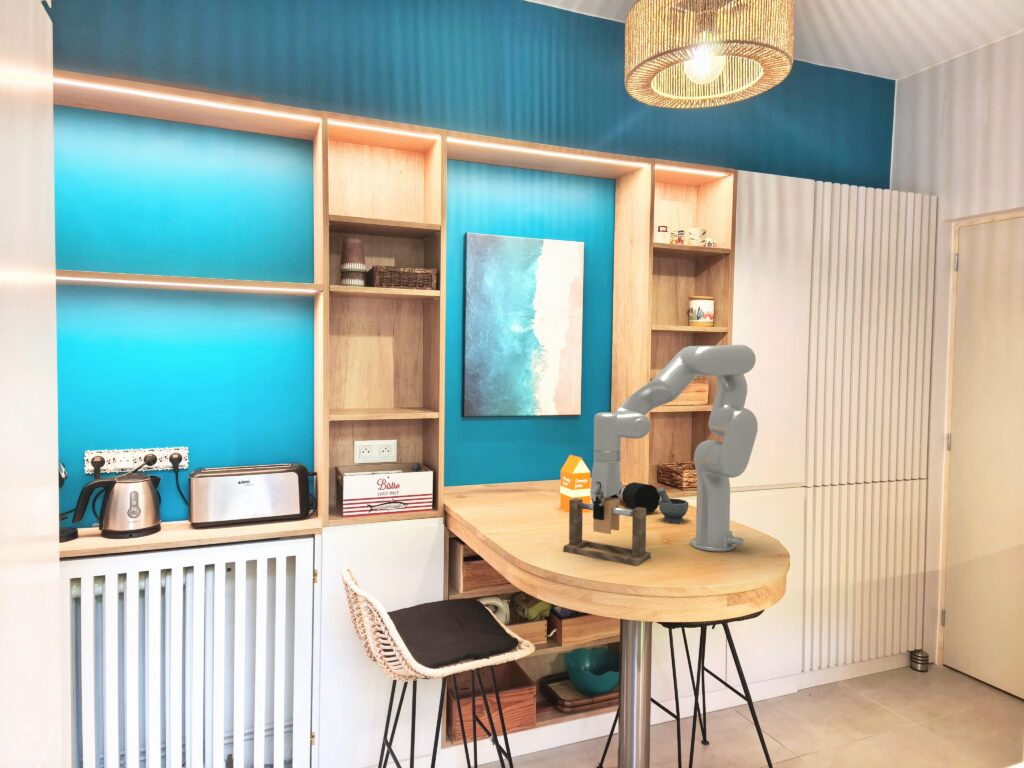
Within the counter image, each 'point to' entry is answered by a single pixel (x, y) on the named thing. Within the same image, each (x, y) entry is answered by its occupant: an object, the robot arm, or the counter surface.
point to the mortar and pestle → (672, 507)
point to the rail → (613, 510)
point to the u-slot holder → (608, 517)
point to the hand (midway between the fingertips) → (606, 515)
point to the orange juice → (574, 482)
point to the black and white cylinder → (640, 496)
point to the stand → (577, 544)
